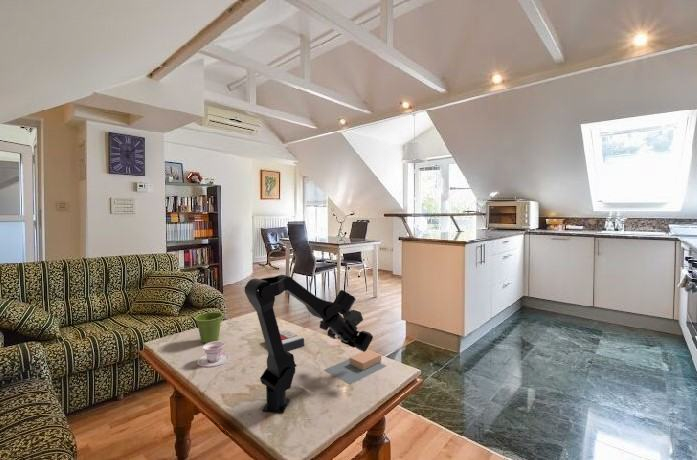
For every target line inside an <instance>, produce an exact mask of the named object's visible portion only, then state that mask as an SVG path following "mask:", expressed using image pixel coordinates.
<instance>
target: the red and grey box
mask: <svg viewBox="0 0 697 460" xmlns="http://www.w3.org/2000/svg"><path fill="white" fill-rule="evenodd" d="M279 332H280V336H281V339H282V343H283V347H284V350H286V351H287V352H291V351H294V350H297V349H300V348H304V347H305V338H304V337H303V336H300V335H298V334H297V333H294V332H292V331H290V330H287V329H286V330H280V331H279Z"/></svg>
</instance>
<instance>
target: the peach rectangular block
mask: <svg viewBox="0 0 697 460" xmlns="http://www.w3.org/2000/svg"><path fill="white" fill-rule="evenodd" d="M348 359H349V364H350V365H352V366H354V367H356V368H358V369H361V370H365V369H367V368H369V367H371V366H374V365H376V364H378V363H381V362H382V354H380V353H377V352H375V351H373V350H371V349H367V350H366V351H365V352H363V351H360V352H359V353H356V354H354V355H351V356H349V358H348Z"/></svg>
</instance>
